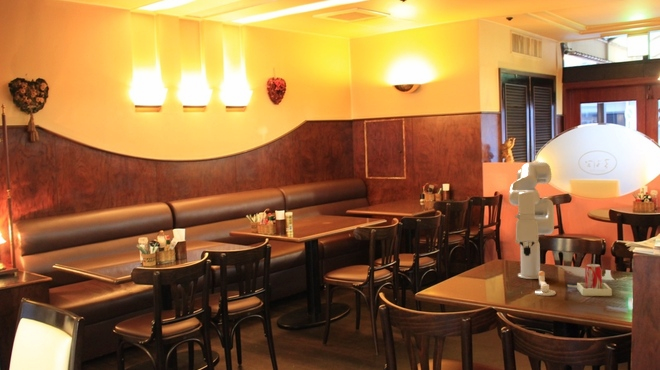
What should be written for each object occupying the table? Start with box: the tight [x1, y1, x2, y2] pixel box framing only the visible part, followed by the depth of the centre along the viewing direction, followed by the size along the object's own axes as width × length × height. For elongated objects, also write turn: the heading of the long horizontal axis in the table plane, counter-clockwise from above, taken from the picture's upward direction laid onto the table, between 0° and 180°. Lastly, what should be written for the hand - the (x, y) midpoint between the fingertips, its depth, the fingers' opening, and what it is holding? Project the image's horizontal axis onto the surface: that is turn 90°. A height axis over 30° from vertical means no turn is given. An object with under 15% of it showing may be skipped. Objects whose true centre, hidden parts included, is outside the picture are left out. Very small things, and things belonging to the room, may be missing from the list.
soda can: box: [584, 263, 603, 289], centre depth 293 cm, size 7×7×12 cm
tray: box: [576, 282, 613, 297], centre depth 293 cm, size 12×12×3 cm
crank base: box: [534, 288, 556, 297], centre depth 294 cm, size 9×9×1 cm
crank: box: [538, 270, 550, 292], centre depth 299 cm, size 4×13×7 cm, turn 170°
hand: (527, 255), depth 303 cm, fingers closed
